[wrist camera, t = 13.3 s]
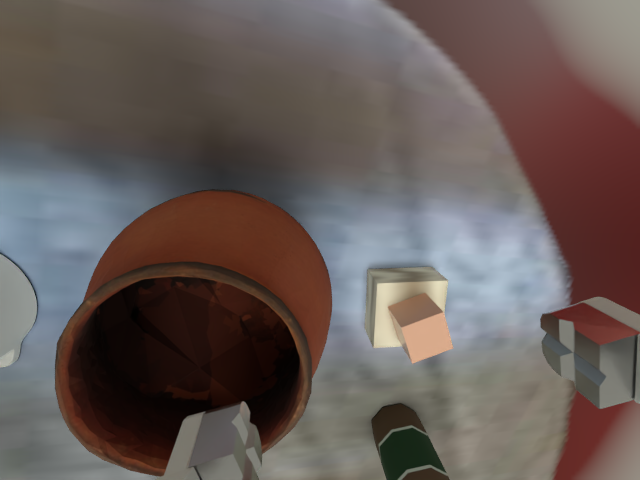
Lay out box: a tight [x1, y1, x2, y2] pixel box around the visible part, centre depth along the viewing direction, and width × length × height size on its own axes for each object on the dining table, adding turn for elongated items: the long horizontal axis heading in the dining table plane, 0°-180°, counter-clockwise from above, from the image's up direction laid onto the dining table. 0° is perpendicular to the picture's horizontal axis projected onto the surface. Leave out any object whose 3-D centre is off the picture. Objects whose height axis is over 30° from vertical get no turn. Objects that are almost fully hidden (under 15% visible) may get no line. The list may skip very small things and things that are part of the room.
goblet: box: [55, 190, 332, 477], centre depth 31 cm, size 19×19×25 cm
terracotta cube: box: [388, 293, 453, 363], centre depth 40 cm, size 5×5×5 cm
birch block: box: [365, 267, 448, 348], centre depth 45 cm, size 9×9×5 cm
